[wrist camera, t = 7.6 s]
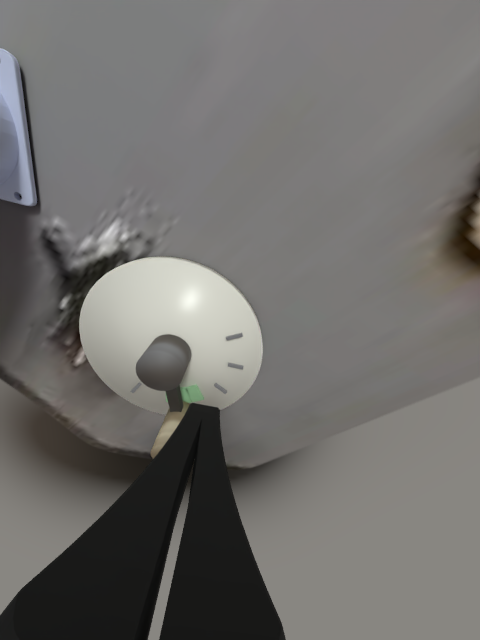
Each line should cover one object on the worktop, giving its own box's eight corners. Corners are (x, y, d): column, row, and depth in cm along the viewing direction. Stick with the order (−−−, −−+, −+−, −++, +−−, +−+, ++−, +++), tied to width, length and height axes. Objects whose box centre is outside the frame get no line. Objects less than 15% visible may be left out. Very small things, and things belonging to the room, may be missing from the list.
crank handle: (146, 334, 19) (114, 371, 14) (188, 333, 19) (169, 370, 14) (166, 416, 23) (146, 464, 18) (201, 416, 23) (190, 465, 18)
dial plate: (90, 391, 23) (83, 400, 22) (81, 232, 17) (70, 234, 16) (239, 422, 24) (238, 431, 23) (286, 284, 18) (288, 288, 17)
